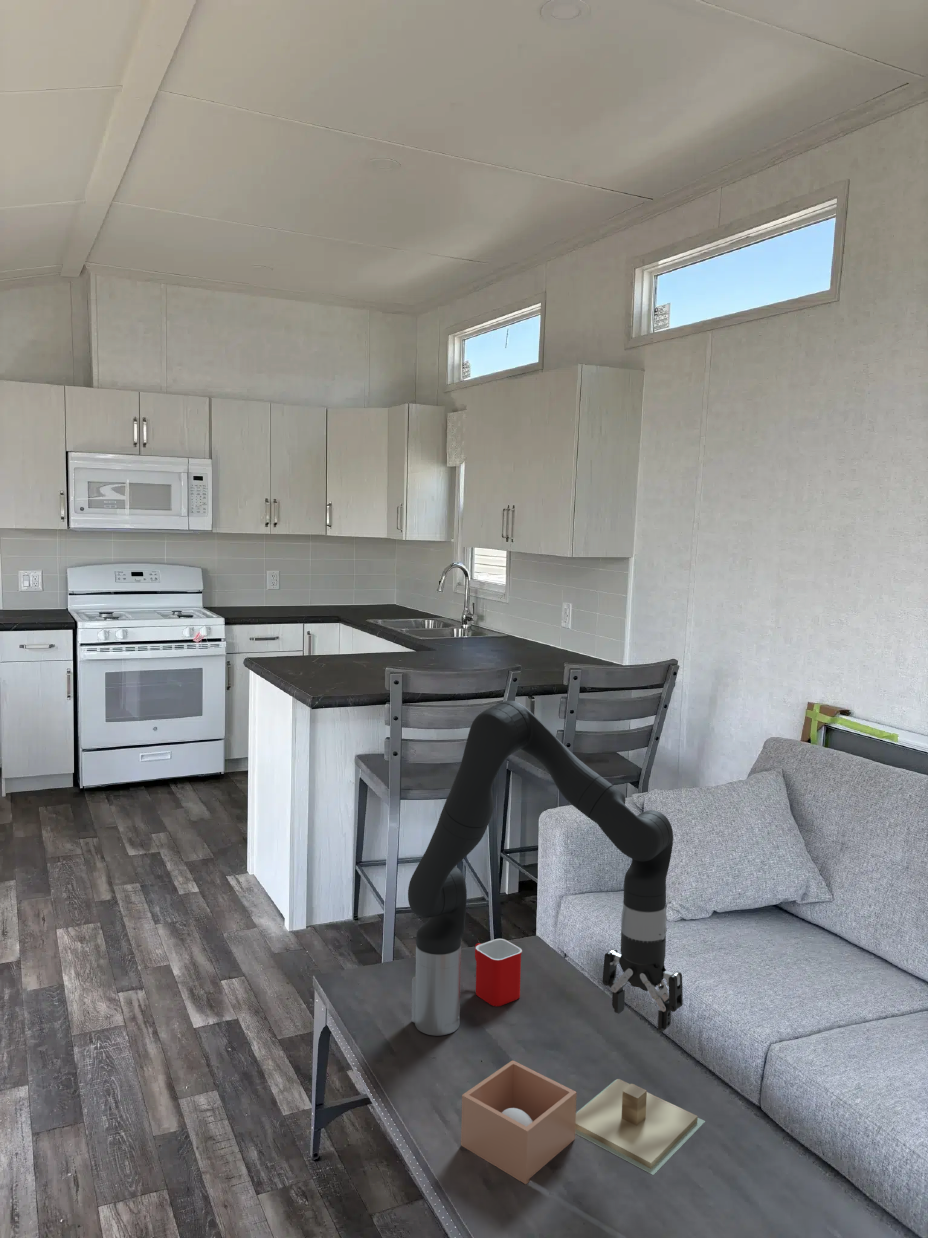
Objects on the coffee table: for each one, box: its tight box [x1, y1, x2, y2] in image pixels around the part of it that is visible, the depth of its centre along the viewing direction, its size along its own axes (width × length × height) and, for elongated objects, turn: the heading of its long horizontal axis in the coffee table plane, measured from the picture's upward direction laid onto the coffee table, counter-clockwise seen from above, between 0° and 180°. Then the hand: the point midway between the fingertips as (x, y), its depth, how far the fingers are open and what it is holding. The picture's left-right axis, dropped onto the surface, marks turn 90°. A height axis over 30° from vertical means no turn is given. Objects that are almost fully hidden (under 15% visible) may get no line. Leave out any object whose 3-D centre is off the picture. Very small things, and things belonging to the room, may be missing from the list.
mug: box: [474, 938, 523, 1007], centre depth 206 cm, size 12×8×11 cm
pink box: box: [460, 1060, 578, 1185], centre depth 156 cm, size 14×14×9 cm
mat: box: [575, 1078, 706, 1176], centre depth 162 cm, size 18×18×1 cm
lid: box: [575, 1078, 699, 1169], centre depth 162 cm, size 16×16×6 cm
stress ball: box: [502, 1107, 534, 1127], centre depth 157 cm, size 8×8×7 cm
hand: (640, 1020), depth 161 cm, fingers open, 8 cm apart
